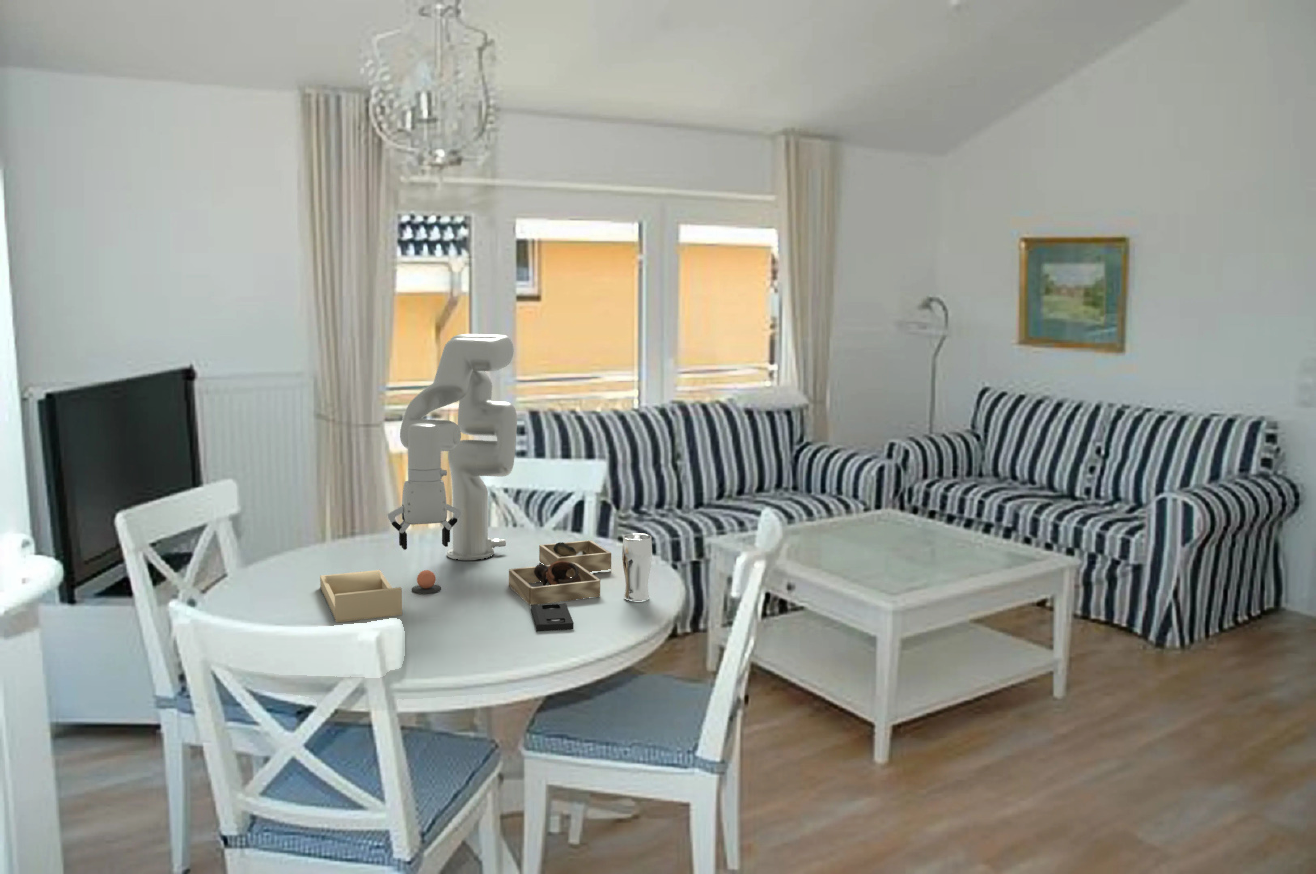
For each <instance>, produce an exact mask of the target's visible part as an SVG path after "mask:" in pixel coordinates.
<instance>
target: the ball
mask: <svg viewBox="0 0 1316 874" xmlns="http://www.w3.org/2000/svg"><path fill="white" fill-rule="evenodd" d="M436 578H437V577H436V574H435V573H434V572H433V571H431V570H428V569H425V570H422V571H420V572H419V573H418V575H417V577H416V583H417V584H418V585H419V586H420V587H421V588H424V589H428V588H431V587H432V586H433V585H434V584H435V585H436V580H437V579H436Z"/></svg>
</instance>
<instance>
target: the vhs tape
mask: <svg viewBox="0 0 1316 874" xmlns="http://www.w3.org/2000/svg"><path fill="white" fill-rule="evenodd" d="M530 614H531V616H532V620H533V623H534V627H535V630H536V632H537V633H538V632H551V631H552V632H555V631H572V630H574V627H575V626H574V624H575V623H574V621H573V617H572V615H571V613H570V610H569V607H568V605H567V604H566V603H565V602H560V603H547V604H538V605H537V604H536V605H531V604H530Z"/></svg>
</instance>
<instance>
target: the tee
mask: <svg viewBox="0 0 1316 874" xmlns="http://www.w3.org/2000/svg"><path fill="white" fill-rule="evenodd" d="M441 591H442V586H441V585H438V584H436V583H435V584H434V585H433V586H432V587H431V588H428V589H424V588H421V587H420V586H419V585H415V586H413V587H412V586H411V593H412V594H413V593H414V594H418V595H433V594H436V593H439V592H441Z"/></svg>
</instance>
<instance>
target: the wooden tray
mask: <svg viewBox="0 0 1316 874" xmlns="http://www.w3.org/2000/svg"><path fill="white" fill-rule="evenodd" d="M556 543H557V542H556ZM556 543H546V544H539V549H538V551H539V552H538V553H539V554H538V555H539V556H538V557H539V559H538V560H539V561H540V562H541V563H543V564H544V565H551V564H552V563H554V562H556V561H568V562H571V563H577V564H579V565H580V566H581V567H583V568H584V569H586V570H587V571H589V572H592V571H601V570H608V569H611V570H612V552H611V551H609V550H608V549H606V548H604V547H602V546H601V545H599V544H598V543H596V542H595V541H593V540H590V539H589V540H579V541H578V540H577V541H568V542H567V541H565V542H564V543H565V544H566V545H568V546H569V547H573V548H574V549H575V550H576V554H577V553H579V552H580V551H581V552H582V554H583V551H586V549H587V554H586V555H577V556H566V557H564V556H561V555H559V554H557V553H555V551H554V549H553V548H554V546H555V544H556Z"/></svg>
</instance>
